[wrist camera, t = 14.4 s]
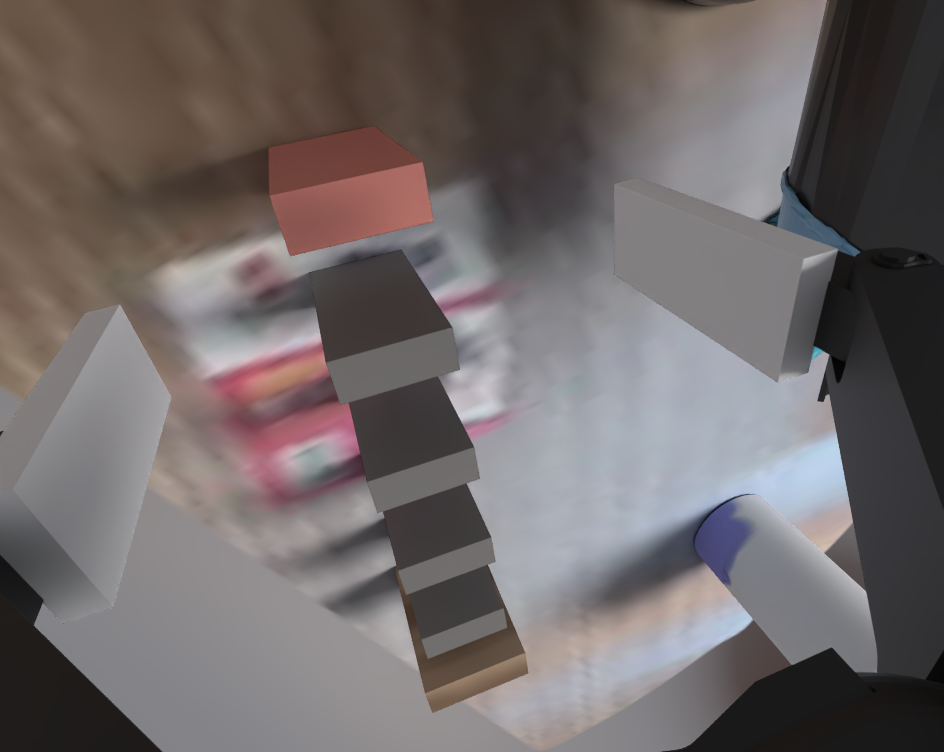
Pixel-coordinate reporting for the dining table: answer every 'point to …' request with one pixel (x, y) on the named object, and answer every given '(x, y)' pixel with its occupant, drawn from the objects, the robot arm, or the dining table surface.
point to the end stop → (466, 661)
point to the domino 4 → (457, 611)
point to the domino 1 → (380, 327)
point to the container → (787, 583)
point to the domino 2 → (412, 444)
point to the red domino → (345, 189)
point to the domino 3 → (438, 538)
